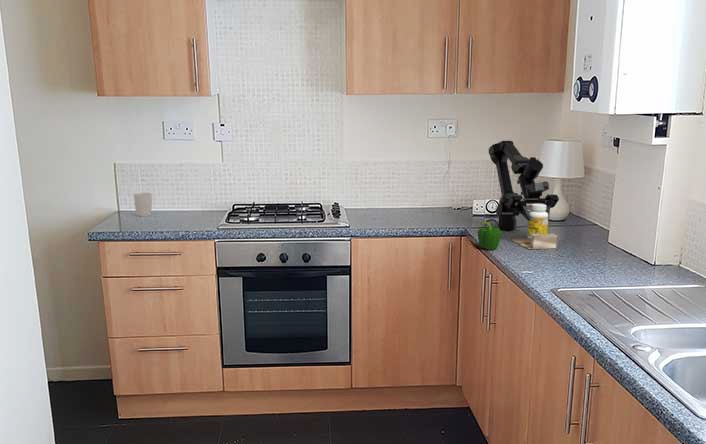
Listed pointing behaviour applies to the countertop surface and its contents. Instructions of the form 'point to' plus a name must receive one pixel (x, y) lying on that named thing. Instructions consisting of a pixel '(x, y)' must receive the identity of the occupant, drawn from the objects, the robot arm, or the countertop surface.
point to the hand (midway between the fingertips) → (538, 219)
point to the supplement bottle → (538, 220)
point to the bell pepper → (489, 237)
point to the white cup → (143, 204)
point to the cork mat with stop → (538, 241)
